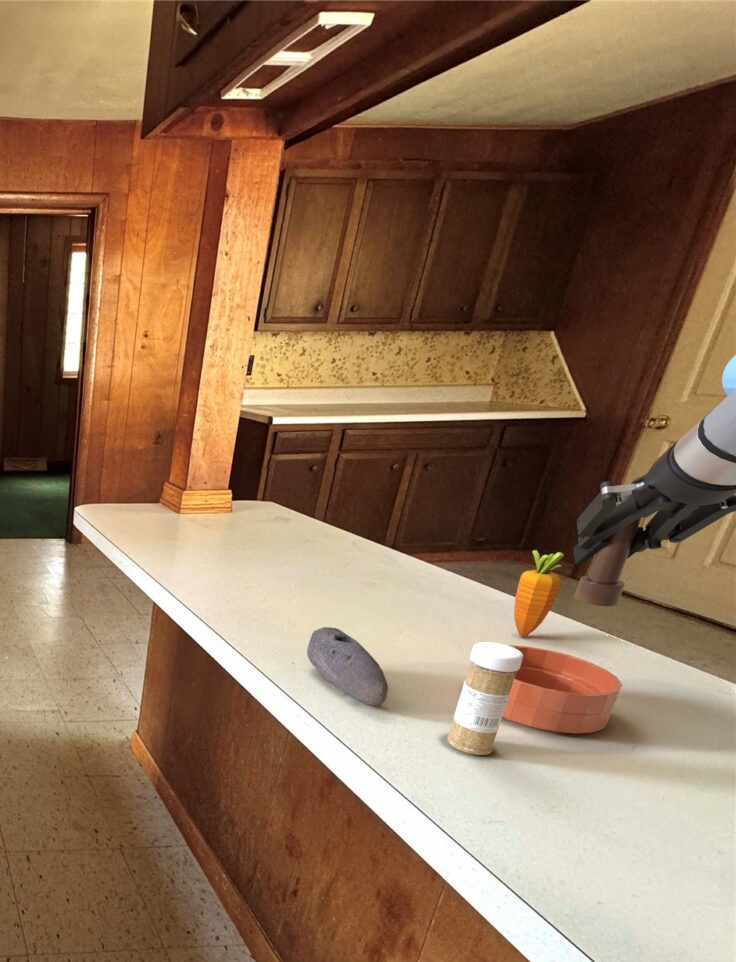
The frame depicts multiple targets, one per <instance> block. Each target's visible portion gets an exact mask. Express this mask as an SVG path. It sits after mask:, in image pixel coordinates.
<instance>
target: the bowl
mask: <svg viewBox="0 0 736 962" xmlns="http://www.w3.org/2000/svg"><path fill="white" fill-rule="evenodd" d="M507 645H508V646H511V647H513V648H516V649H518V650H519V651H520V652H521V653H522V654H523V659H522V663H521V666H520V669H519V670H518V672H517V673H516V674H515V678H514V681H513V684H512V688H511V691H510V695H509V698H508V701H507V704H506V708H505V711H504V713H503V717H502V719H506V720H508V721H511V722H514V723H516V724H518V725H522V726H526V727H529V728H533V729H538V730H541V731H547V732H554V733H563V734H564V733H565V734H566V733H567V734H589V733H596V732H598V731H601V730H603V729H605V728H606V727H607V724H608V722H609V720H610V717H611V715H612V712H613V710H614V707H615V706H616V703H617V700H618V697H619V695H620V693H621V691H622V687H623V684H622V682H621V681H620V679H619V677H618V676H616V675H615V674H613V673H612V672H610V671H609V670H608V669H606V668H604V667H601V666H599V665H597V664H595V663H593V662H591V661H588V660H585V659H582V658H579V657H576V656H573V655H570V654H568V653H567V654H566V653H562V652H558V651H555V650H550V649H545V648H539V647H534V646H525V645H513V644H507Z"/></svg>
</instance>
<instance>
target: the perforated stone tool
mask: <svg viewBox="0 0 736 962" xmlns="http://www.w3.org/2000/svg"><path fill="white" fill-rule="evenodd" d="M306 655H307V658H308V660H309V661H310V664H311V665H312V666H313V667H314V668H315V669H316V671H317V672H318V673H319V674H320V675H321V676H322V677H323V678H324V679H326V680H327V681H328V682H329V683H330V684H331V685H334V686H335V687H336V688H337V689H339V690H340V691H342V692H344V693H345V694H346V695H348V696H350V697H351V698H353V699H355V700H356V701H358V702H361V703H362V704H365V705H369V706H373V707H375V706H380V705H381V704H383V703H384V702H385V701H386V699H387V697H388V695H389V692H388V691H389V685H388V682H387V678H386V676H385V673H384V672H383V669H382V668H381V666H380V664H379V663H378V661H377V660H376V659H375V657H373V656H372V655H371V653H370V652H369V651H368V650H367V649H365V647H364V646H363V645H362V644H361V643H359V641H357V640H356V639H355V638H353V637H351V636H350V635H348V634H346V633H345V632H343V630H340V629H339V628H336V627H331V626H330V627H329V626H324V627H321V628H318V629H315V630H313V632H312V633H311V635H310V638H309V641H308V645H307V649H306Z"/></svg>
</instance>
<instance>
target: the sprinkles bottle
mask: <svg viewBox="0 0 736 962" xmlns="http://www.w3.org/2000/svg"><path fill="white" fill-rule="evenodd" d="M508 645H509V644H504V643H499V642H492V641H480V642H476V643H475V644H473V647H472V650H471V652H470V657H469V666H468V670H467V674H466V678H465V680H464V681H463V685H462V688H461V692H460V695H459V699H458V702H457V705H456V708H455V712H454V715H453V721H452V724H451V728H450V731H449V734H448V735H447V737H446V739H447V742H448V743H449V744H450V746H451V747H453V748H454V749H457V750H458V751H461V752H463V753H466V754H468V755H469V754H470V755H474V756H486V755H490V754H491V753H492V752H493V751H494V744H495V743H494V742H495V740H496V737H497V734H498V731H499V729H500V725H501V722H502V719H503V713H504V711H505V708H506V704H507V701H508V698H509V695H510V691H511V688H512V684H513V681H514V678H515V674H516V673H517V672H518V670H519V669H520V666H521V663H522V659H523V654H522V653H521V652H520V651H519V650H518V649H516V648H513V647H511V646H508Z"/></svg>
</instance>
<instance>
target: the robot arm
mask: <svg viewBox="0 0 736 962" xmlns="http://www.w3.org/2000/svg"><path fill="white" fill-rule="evenodd" d="M721 384H722V388H723V392H724V393H725V395H726V397H725V398H724V399H723V400H722V401H721V402H720V403H719V404H718V405H717V406H715V407H714V408H713V409H712V410H710V411H709V412H708V413H707V414H706V415H705V416H704V417H703V418H701V419H700V420H699V421H698V422H697V423H696V424H695V425H694V426H692V428H690V429H689V430H688V431H687V432H686V433H685V434H684V435H682V436H681V438H680V439H679V440H678V441H676V442H675V443H673V444H672V446H670V447H669V448H668V449H666V451H664V453H662V454H661V455H660V456H659V457H658V458H657V459H656V460H655V461H654V462H653V464H652V465H651V466H650V468H649V470H648V471H647V472H646V473H645V474H643V475H641V476H639V477H636V478H635V479H633V480H632V481H631V483H625V484H626V485H625V484H620V485H618V484H617V485H615V482H614V481H612V480H605V481H603V482H601V483H600V484H599V488H600V489H599V490H600V491H599V493H597V494H596V496H595V498H594V499H593V500H592V501H591V502H590V503H589V505H588V506H587V507H586V508H585V509H584V510H583V512H582V513H581V514H580V515H579V517H578V518H577V519H576V527H577V528H576V529H577V535H578V540H577V541H578V543H577V544H576V545H575V546H574V547H573V556H574V565H576V566H577V565H578V566H583V565H584V564H585V563H586V562H588V560H590V559H591V558H592V557H593V556H596V553H597V552H598V551H599V550H601V549H602V548H603V547H604V546H606V545H607V544H608V543H609V539H608V537H609V536H611V535H612V534H614V533H616V532H617V531H619V530H621V529H622V528H624V527H626V526H627V525H629V524H631V523H632V522H634V521H636V520H637V519H639V518H640V517H642V519H646V518H649V517H650V516H651V515H653V517H652V518H651V519H650V520H649V521H648V522H647V523H646V525H645V526H644V527H643V526H639V527H638V530H637V532H636V535H635V538H634V541H633V543H632V546H631V549H630V551H629V554H628V557H627V559H626V560H628V559H629V558H630V557H631V556H633V555H635V554H637V553H642V552H645V551H646V550H648V549H649V550H659V549H661V548H662V547H663V546H662V541H669V543H672V544H673V543H674V544H676V543H677V544H678V543H681V542H683V541H685V540H687V539H688V538H690V537H692V536H693V535H695V534H697V533H698V532H700V531H701V530H704V529H705V528H707V527H708V526H710V525H712V524H714V523H716V522H717V521H718V520H720V519H721V518H723V517H725V516H727V515H729V514H731V513H735V512H736V354H735V355H734V356H733V357H731V359H730V360H729V361H728V363H727V364H726V366H725V368H724V370H723V373H722V376H721ZM627 495H630V497H629V498H628V499H627V500H626V501H624V502H623V503H622V499H624V498H625V497H626V496H627ZM616 504H619V505H618V506H616ZM644 528H645V529H644Z"/></svg>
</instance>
